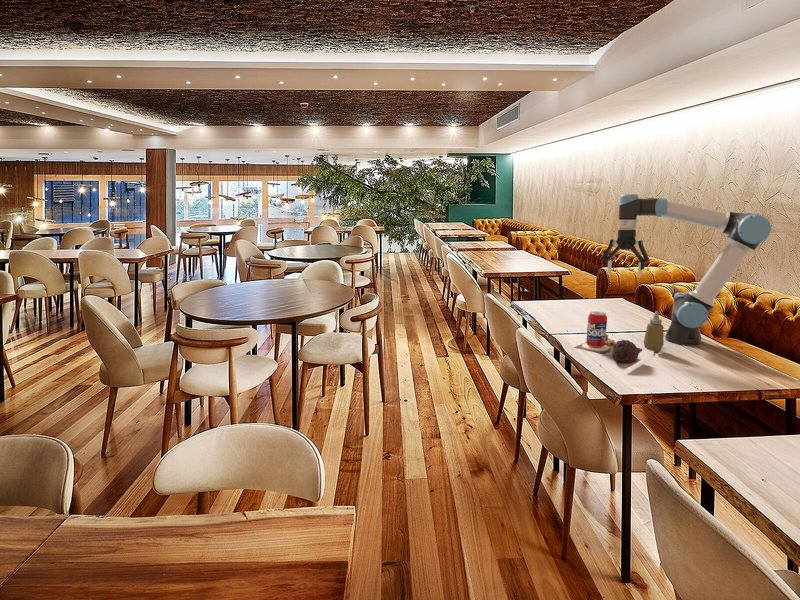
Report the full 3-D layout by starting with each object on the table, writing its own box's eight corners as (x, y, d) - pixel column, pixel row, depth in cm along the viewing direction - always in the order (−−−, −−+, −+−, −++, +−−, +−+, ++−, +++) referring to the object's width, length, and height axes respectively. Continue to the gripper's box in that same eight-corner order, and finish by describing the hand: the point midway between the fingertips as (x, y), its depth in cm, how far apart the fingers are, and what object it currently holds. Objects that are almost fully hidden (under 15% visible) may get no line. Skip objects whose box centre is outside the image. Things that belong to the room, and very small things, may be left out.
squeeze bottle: (664, 354, 232) (669, 314, 229) (645, 353, 234) (649, 313, 230) (659, 349, 240) (664, 310, 237) (640, 348, 242) (644, 309, 238)
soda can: (602, 343, 239) (604, 311, 236) (606, 348, 232) (609, 315, 229) (584, 343, 240) (586, 310, 237) (588, 348, 232) (590, 314, 229)
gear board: (624, 347, 242) (625, 344, 242) (604, 357, 227) (604, 354, 227) (595, 341, 252) (595, 338, 252) (573, 350, 236) (573, 347, 236)
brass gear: (617, 343, 243) (617, 334, 243) (610, 346, 238) (610, 337, 237) (600, 339, 249) (601, 331, 248) (593, 343, 243) (594, 334, 242)
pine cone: (622, 371, 210) (625, 346, 208) (600, 364, 218) (602, 341, 216) (646, 363, 221) (649, 339, 219) (624, 356, 228) (626, 334, 226)
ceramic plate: (612, 347, 236) (612, 346, 236) (602, 353, 228) (602, 351, 228) (588, 342, 244) (589, 341, 243) (577, 347, 236) (577, 346, 236)
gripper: (596, 228, 247) (594, 274, 251) (653, 230, 231) (650, 278, 235) (602, 227, 252) (600, 272, 256) (658, 229, 236) (655, 276, 240)
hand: (624, 275), depth 246 cm, fingers open, 13 cm apart
